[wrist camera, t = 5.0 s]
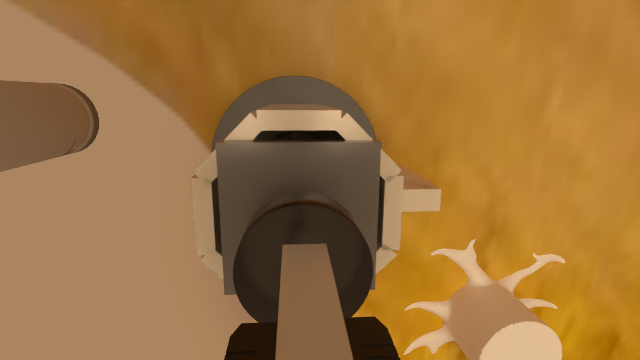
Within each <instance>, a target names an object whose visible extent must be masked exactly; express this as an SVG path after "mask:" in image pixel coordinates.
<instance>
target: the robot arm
mask: <svg viewBox="0 0 640 360" xmlns="http://www.w3.org/2000/svg"><path fill="white" fill-rule="evenodd" d="M224 360H400V358H399V357H398V353H397V350H396V348H395V346H394V345H393V341H392V338H391V336H390V334H389V331H388V329H387V328H386V327H385V326H384V325H383V324H382V323H381V322H380V321H379V320H378V319H377V318H376V317H353V318H343V314H342V309H341V305H340V301H339V297H338V292H337V288H336V284H335V280H334V275H333V271H332V267H331V262H330V258H329V254H328V250H327V245H326V244H288V245H283V247H282V262H281V278H280V294H279V310H278V322H265V323H242V324H241V325H240V326H239V327H238V328H237V329H236V330H235V332H234V333H233V334H232V335H231V336H230V339H229V343H228V347H227V351H226V355H225V359H224Z"/></svg>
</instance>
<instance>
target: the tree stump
mask: <svg viewBox="0 0 640 360" xmlns="http://www.w3.org/2000/svg"><path fill="white" fill-rule="evenodd" d="M475 240H476V239H475ZM475 240H472V241H471V242H470V243H469V245H468V248H467V249H466V250H454V249H439V250H436V251H434V252H432V253H431V255H435V254H442V255H445V256H447V257H449V258H451V259H452V260H453V261H455V262H456V263H457V264H458V265H459V266H460V267H461V268H462V269H463V270H464V271H465V273H466V274H467V276H468V279H469V281H468V283H467V284H466V285H464V286H463V287H461V288H460V289H459V290H457V291H456V292H455V293H454V295H453V296H452V297H451V298H450V299H449V300H447V301H443V302H417V303H414V304H412V305H410V306H408V307H407V308H406V309H405V310H408V309H411V308H422V309H425V310H428V311H430V312H433V313H435V314H436V315H438V316H439V317H441V318H442V319H443V320H444V326H443V327H442V328H440V329H439V330H436V331H434V332H431V333H428V334H425V335H423V336H421V337H419V338H418V339H416V340H415V341H414V342H413V343H412V344H411V345H410V346H409V347H408V348H407V349H406V351H405V352H404V355H406V354H407V353H409V352H410V351H412V350H413V349H415V348H417V347H419V346H428V347H429V348H430V350H431V353H433V354H434V353H435V352H436V351H437V349H438V348H439V347H440V346H441V345H442V344H444V343H446V342H451V341H456V342H457V344H458V345H459V347H460V348H461V349H462V351H463V352H464V354H465V355H466V357H467V359H468V360H561V358H562V346H561V343H560V339H559V338H558V335H557V334H556V333H555V332H554V331H553V330H552V329H551V328H550V327H549V326H548V325H546V324H545V323H544V322H543V321H542V320H541V319H540V318H539V317H538V316H536V315H535V314H534V313H533V312H532V311H531V310H530V308H533V307H540V306H544V307H552V308H554V309H556V308H557V306H555V305H554V304H552V303H550V302H547V301H544V300H539V299H517V298H516V297H515V296H514V295H513V292H514V289H515V286H516V285H517V284H518V282H519V281H520V280H521V279H522V278H523V277H525V276H527V275H529V274H531V273H533V272H535V271H536V270H538V269H539V268H541V267H542V266H543V265H544V264H546V263H548V262H550V261H559V262H562V263H565V261H564V260H563V259H562V258H561V257H560V256H558V255H553V254H547V255H542V256H537V255H535V253H534V254H533V257H535V258H536V259H537V262H536V263H535V264H534V265H532V266H530V267H529V268H526V269H523V270H519V271H517V272H515V273H513V274H511V275H509V276H507V277H505V278H503V279H501V280H498V281H493V280H492V279H491V278H490V277H489V276H488V275H487V274H486V273H485V272H484V271H483V270H482V269H481V268H480V267H479V266H478V264H477V263H476V254H475V251H474V249H473V244H474V242H475ZM431 255H430V256H431ZM557 309H558V308H557Z"/></svg>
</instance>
